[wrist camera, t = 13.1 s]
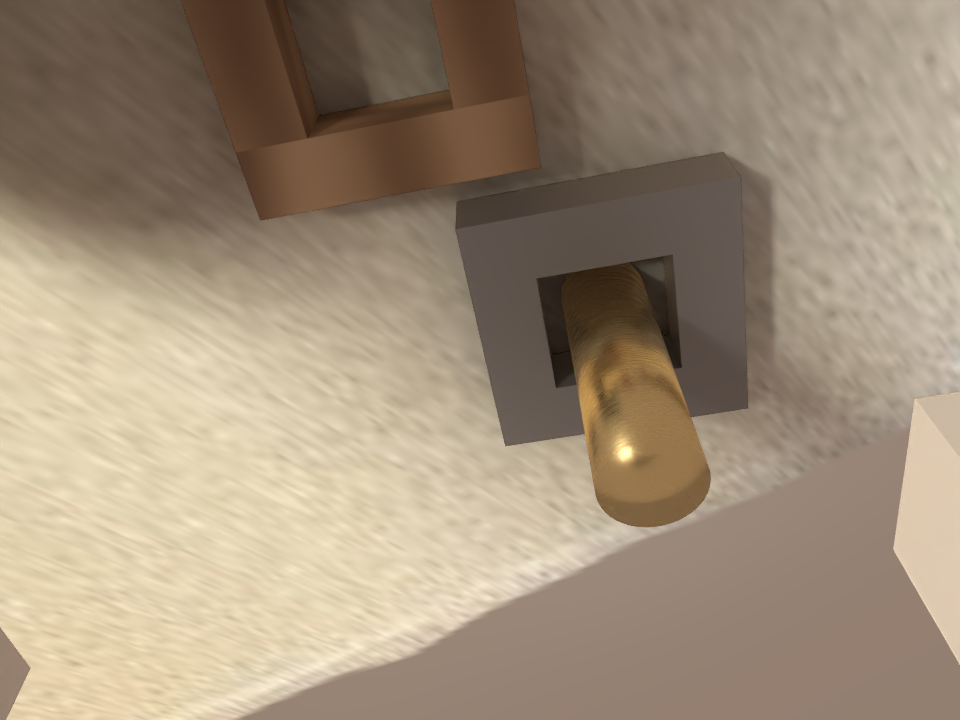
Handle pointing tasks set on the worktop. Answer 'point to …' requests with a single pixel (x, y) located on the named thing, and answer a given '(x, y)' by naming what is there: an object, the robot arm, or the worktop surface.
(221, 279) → the worktop surface
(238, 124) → the brown wooden square frame
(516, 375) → the plate
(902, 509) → the robot arm
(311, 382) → the worktop surface
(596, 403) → the lock pin
